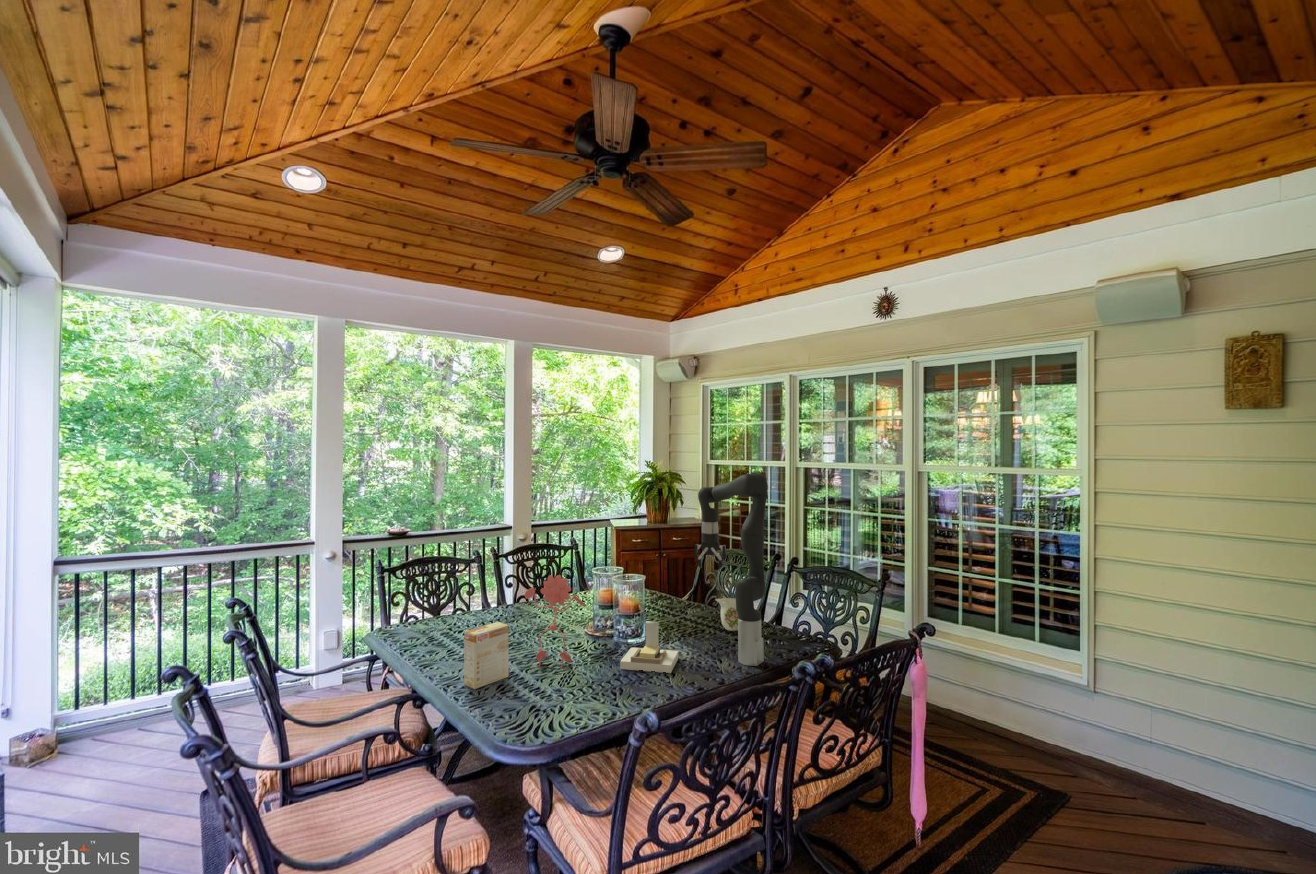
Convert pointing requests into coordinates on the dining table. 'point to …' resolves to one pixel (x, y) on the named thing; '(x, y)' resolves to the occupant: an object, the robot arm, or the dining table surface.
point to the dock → (650, 661)
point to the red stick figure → (554, 593)
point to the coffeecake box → (486, 655)
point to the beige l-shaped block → (651, 641)
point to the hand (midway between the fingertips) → (710, 568)
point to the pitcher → (729, 613)
